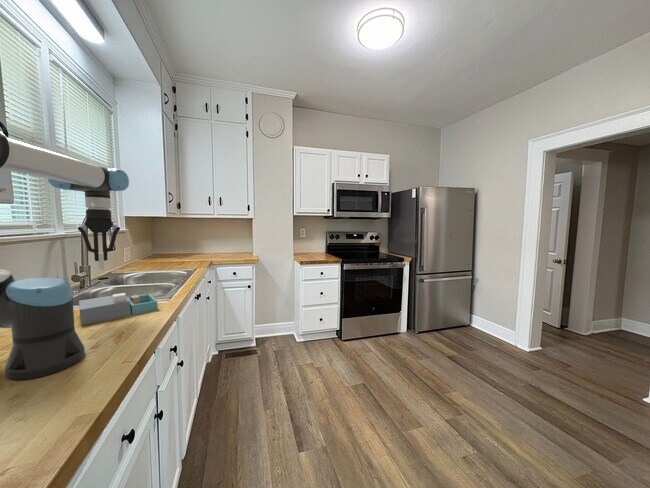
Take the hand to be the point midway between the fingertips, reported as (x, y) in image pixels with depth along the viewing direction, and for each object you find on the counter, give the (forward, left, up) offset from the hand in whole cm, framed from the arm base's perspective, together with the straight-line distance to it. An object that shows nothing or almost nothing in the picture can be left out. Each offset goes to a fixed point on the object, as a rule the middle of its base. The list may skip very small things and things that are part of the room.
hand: (101, 269), depth 105 cm
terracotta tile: (+10, +6, -17) cm, 20 cm away
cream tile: (+5, -1, -14) cm, 14 cm away
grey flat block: (0, +2, -20) cm, 20 cm away
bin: (+13, +2, -20) cm, 24 cm away
